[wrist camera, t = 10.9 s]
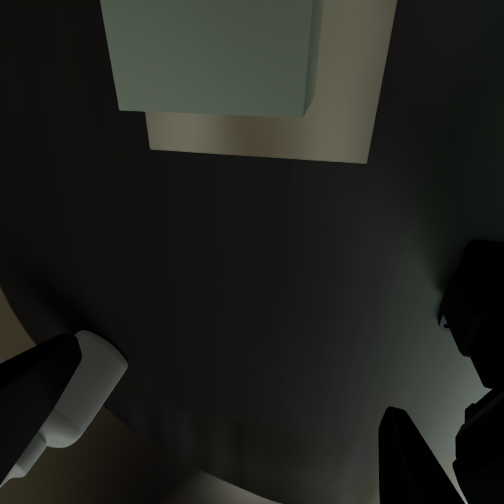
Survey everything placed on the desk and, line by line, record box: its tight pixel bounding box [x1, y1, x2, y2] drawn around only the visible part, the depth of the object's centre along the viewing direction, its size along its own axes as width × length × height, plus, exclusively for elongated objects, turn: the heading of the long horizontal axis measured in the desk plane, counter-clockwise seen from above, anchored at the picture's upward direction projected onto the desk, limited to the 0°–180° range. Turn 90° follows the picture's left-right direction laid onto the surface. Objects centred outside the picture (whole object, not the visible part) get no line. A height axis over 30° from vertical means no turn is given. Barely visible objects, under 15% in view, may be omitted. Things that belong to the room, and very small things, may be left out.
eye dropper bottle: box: [0, 330, 128, 487], centre depth 26 cm, size 4×6×12 cm
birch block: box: [145, 0, 397, 164], centre depth 14 cm, size 10×10×4 cm
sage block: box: [100, 0, 324, 118], centre depth 10 cm, size 5×5×6 cm
